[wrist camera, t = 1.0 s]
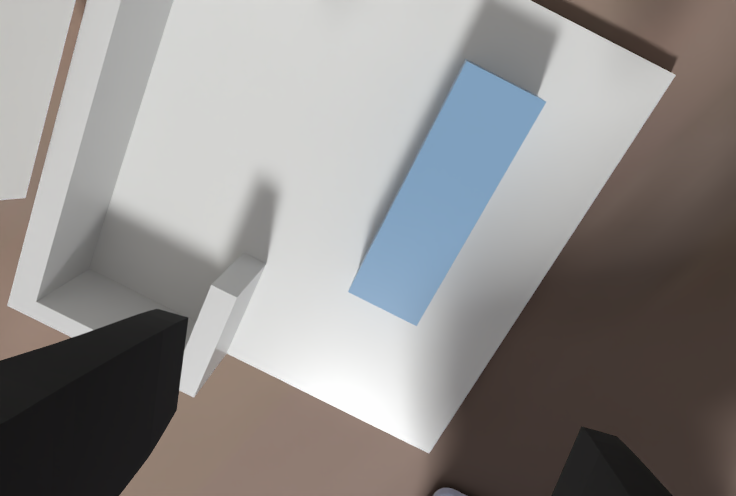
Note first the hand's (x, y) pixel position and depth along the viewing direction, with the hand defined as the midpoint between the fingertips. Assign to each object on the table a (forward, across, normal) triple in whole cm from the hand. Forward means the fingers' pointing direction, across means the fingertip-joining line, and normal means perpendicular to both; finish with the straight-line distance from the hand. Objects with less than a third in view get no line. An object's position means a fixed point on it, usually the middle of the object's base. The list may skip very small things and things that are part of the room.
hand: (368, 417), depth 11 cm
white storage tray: (+9, +3, -2) cm, 9 cm away
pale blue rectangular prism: (+8, 0, -2) cm, 9 cm away
